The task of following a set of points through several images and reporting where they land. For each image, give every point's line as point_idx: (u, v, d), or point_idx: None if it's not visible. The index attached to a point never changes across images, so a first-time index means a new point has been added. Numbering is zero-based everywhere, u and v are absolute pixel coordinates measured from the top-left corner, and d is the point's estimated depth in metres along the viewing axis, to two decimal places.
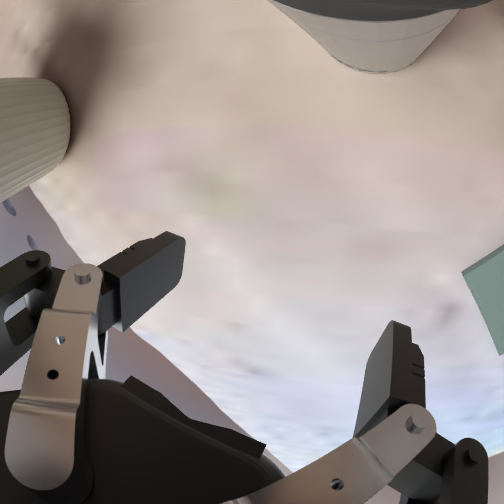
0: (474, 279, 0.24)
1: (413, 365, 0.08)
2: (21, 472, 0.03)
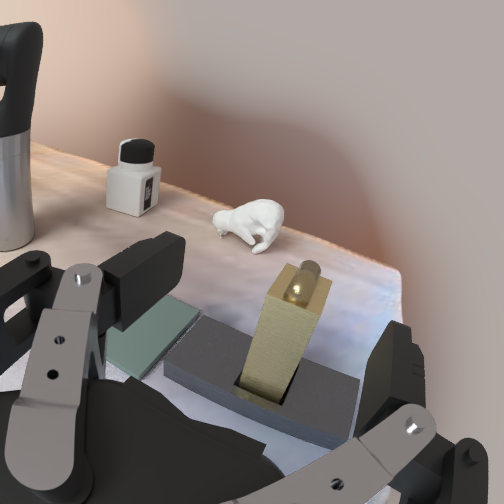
0: None
1: (413, 365, 0.08)
2: (21, 472, 0.03)
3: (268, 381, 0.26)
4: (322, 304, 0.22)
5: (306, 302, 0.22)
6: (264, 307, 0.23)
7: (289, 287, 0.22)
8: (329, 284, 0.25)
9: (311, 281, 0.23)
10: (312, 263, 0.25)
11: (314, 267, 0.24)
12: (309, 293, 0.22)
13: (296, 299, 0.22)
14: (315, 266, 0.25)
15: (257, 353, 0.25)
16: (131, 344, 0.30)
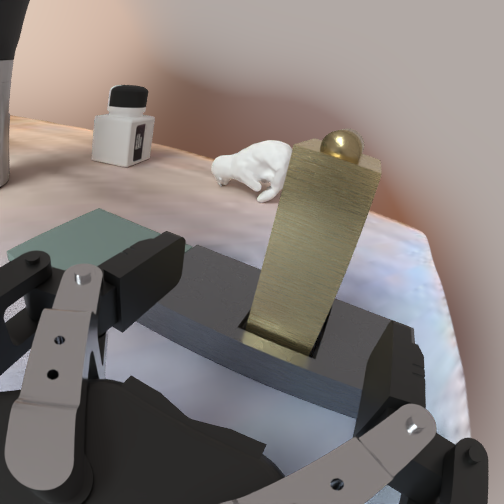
0: (19, 251, 0.22)
1: (413, 365, 0.08)
2: (21, 472, 0.03)
3: (294, 316, 0.17)
4: (378, 168, 0.14)
5: (357, 155, 0.13)
6: (289, 169, 0.14)
7: (328, 134, 0.13)
8: (378, 160, 0.16)
9: (357, 137, 0.14)
10: None
11: (356, 132, 0.16)
12: (359, 144, 0.13)
13: (341, 151, 0.13)
14: (357, 132, 0.16)
15: (278, 263, 0.16)
16: None
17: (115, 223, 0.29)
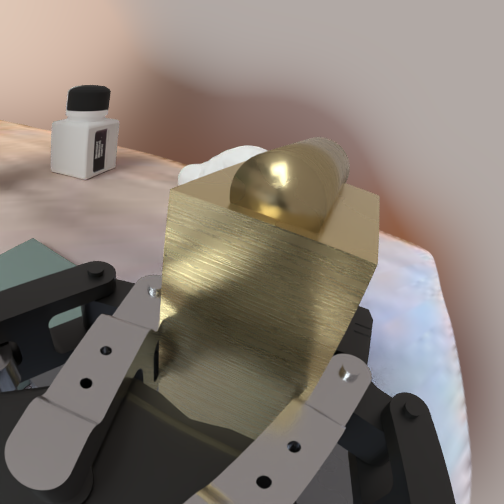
0: None
1: (360, 326, 0.10)
2: (21, 472, 0.03)
3: None
4: (372, 234, 0.06)
5: (318, 213, 0.05)
6: (169, 243, 0.07)
7: None
8: (375, 199, 0.09)
9: (329, 160, 0.07)
10: (327, 140, 0.09)
11: (333, 145, 0.08)
12: (327, 182, 0.06)
13: (278, 203, 0.06)
14: (335, 145, 0.08)
15: (180, 391, 0.09)
16: None
17: (44, 260, 0.22)
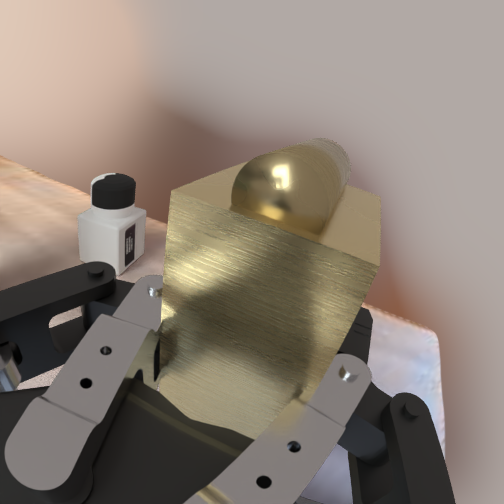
0: None
1: (360, 326, 0.10)
2: (21, 472, 0.03)
3: None
4: (374, 235, 0.06)
5: (320, 215, 0.05)
6: (169, 245, 0.07)
7: None
8: (376, 200, 0.09)
9: (331, 162, 0.07)
10: (328, 141, 0.09)
11: (334, 146, 0.08)
12: (329, 183, 0.06)
13: (280, 205, 0.06)
14: (336, 146, 0.08)
15: (181, 392, 0.09)
16: None
17: None
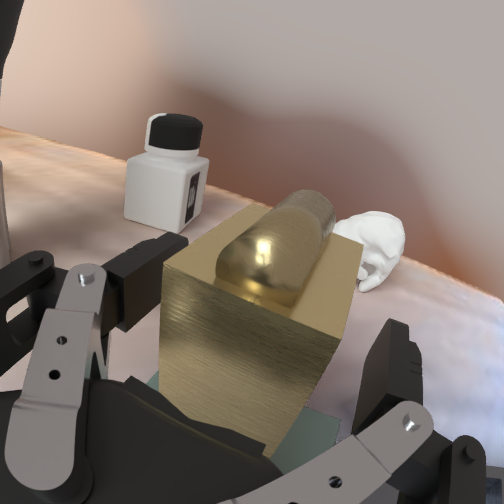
0: None
1: (411, 363, 0.09)
2: (21, 472, 0.03)
3: None
4: (345, 301, 0.07)
5: (292, 293, 0.06)
6: (164, 305, 0.07)
7: (233, 240, 0.07)
8: (358, 251, 0.09)
9: (310, 230, 0.07)
10: (314, 195, 0.09)
11: (318, 202, 0.09)
12: (302, 262, 0.06)
13: (257, 282, 0.06)
14: (321, 201, 0.09)
15: None
16: None
17: None
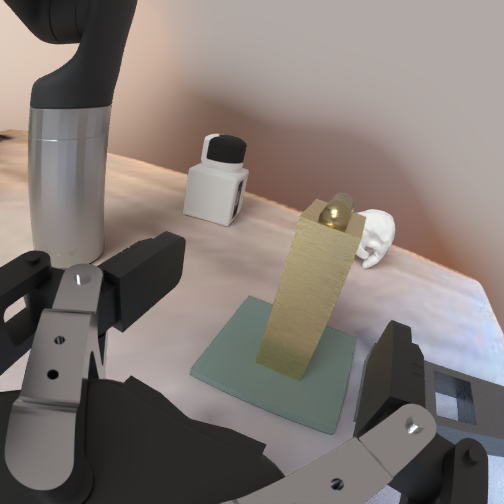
0: (206, 367, 0.24)
1: (413, 365, 0.08)
2: (21, 472, 0.03)
3: (297, 334, 0.23)
4: (361, 231, 0.20)
5: (344, 225, 0.19)
6: (296, 233, 0.20)
7: (325, 208, 0.19)
8: (364, 218, 0.22)
9: (347, 207, 0.20)
10: (345, 195, 0.22)
11: (348, 198, 0.22)
12: (347, 215, 0.19)
13: (333, 222, 0.19)
14: (349, 197, 0.22)
15: (286, 297, 0.22)
16: (308, 390, 0.24)
17: None
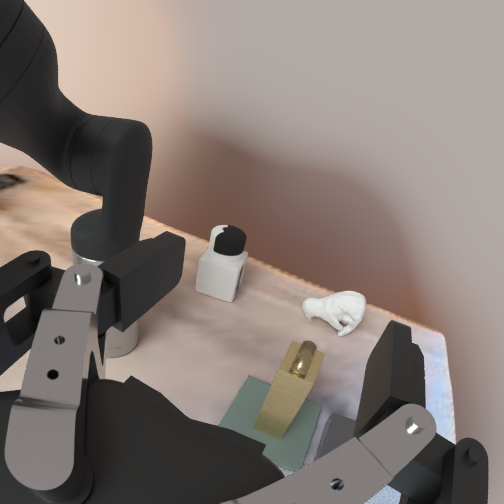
0: None
1: (413, 365, 0.08)
2: (21, 472, 0.03)
3: (277, 419, 0.35)
4: (315, 374, 0.32)
5: (304, 375, 0.31)
6: (276, 376, 0.32)
7: (293, 365, 0.31)
8: (322, 357, 0.34)
9: (309, 359, 0.32)
10: (310, 344, 0.34)
11: (311, 347, 0.34)
12: (307, 369, 0.31)
13: (298, 373, 0.31)
14: (312, 346, 0.34)
15: (271, 402, 0.34)
16: (285, 446, 0.36)
17: None
